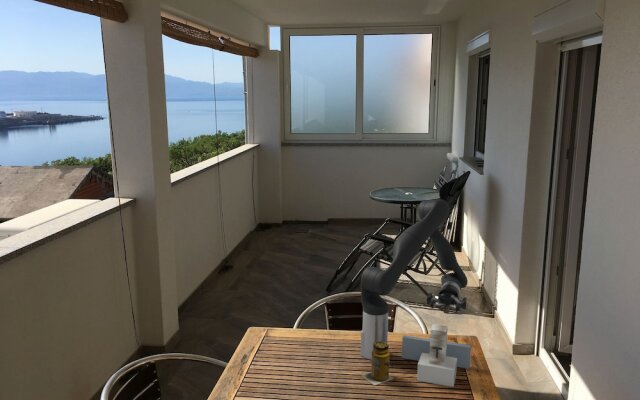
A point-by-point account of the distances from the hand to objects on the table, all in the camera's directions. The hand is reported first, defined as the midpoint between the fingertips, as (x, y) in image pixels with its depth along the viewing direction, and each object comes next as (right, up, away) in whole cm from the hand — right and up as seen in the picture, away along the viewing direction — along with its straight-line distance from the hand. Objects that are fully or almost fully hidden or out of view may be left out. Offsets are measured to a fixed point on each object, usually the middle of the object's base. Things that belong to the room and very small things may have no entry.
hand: (444, 307), depth 194 cm
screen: (-3, -20, +1) cm, 20 cm away
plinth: (-5, -22, -10) cm, 24 cm away
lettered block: (-5, -16, -11) cm, 20 cm away
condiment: (-25, -22, -10) cm, 35 cm away
